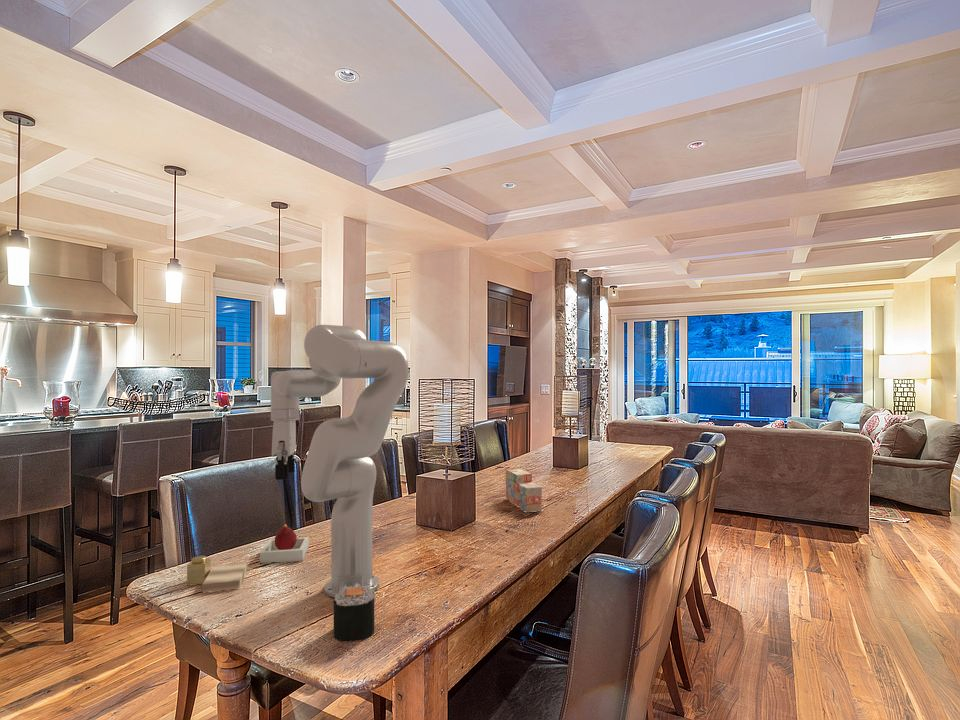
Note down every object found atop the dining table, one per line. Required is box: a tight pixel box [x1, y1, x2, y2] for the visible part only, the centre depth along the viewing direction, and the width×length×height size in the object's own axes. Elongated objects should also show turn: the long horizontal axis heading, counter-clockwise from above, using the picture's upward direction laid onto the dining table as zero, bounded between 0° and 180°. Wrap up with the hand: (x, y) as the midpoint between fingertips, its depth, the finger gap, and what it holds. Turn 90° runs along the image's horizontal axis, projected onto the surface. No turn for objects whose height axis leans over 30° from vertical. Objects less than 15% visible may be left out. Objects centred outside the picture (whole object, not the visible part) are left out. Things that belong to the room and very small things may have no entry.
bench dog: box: [186, 555, 211, 586], centre depth 128 cm, size 4×4×6 cm
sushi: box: [332, 585, 376, 643], centre depth 103 cm, size 8×8×8 cm
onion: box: [274, 524, 298, 550], centre depth 146 cm, size 6×6×8 cm
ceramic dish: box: [259, 536, 310, 564], centre depth 146 cm, size 11×11×3 cm
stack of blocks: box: [504, 468, 543, 512], centre depth 197 cm, size 21×6×12 cm, turn 17°
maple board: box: [201, 562, 248, 593], centre depth 128 cm, size 12×8×2 cm, turn 16°
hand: (285, 475), depth 146 cm, fingers open, 9 cm apart
